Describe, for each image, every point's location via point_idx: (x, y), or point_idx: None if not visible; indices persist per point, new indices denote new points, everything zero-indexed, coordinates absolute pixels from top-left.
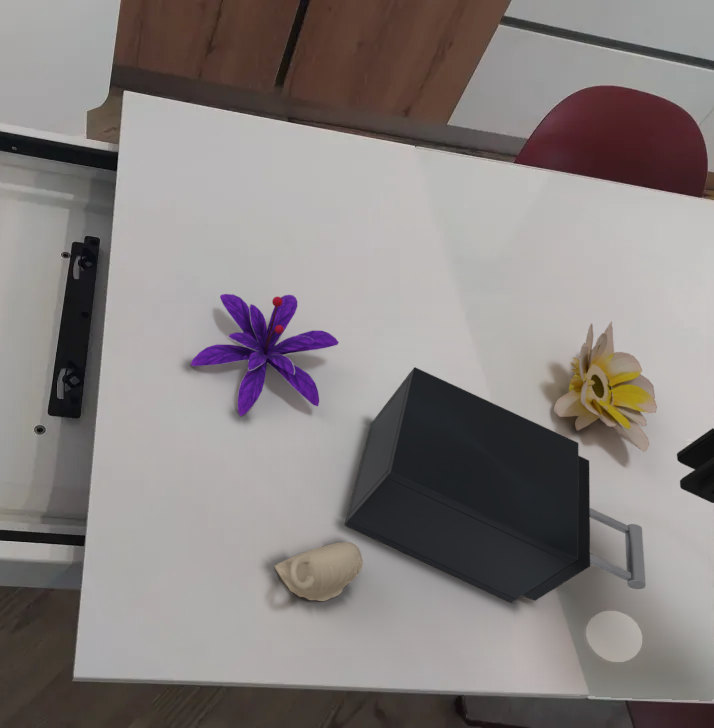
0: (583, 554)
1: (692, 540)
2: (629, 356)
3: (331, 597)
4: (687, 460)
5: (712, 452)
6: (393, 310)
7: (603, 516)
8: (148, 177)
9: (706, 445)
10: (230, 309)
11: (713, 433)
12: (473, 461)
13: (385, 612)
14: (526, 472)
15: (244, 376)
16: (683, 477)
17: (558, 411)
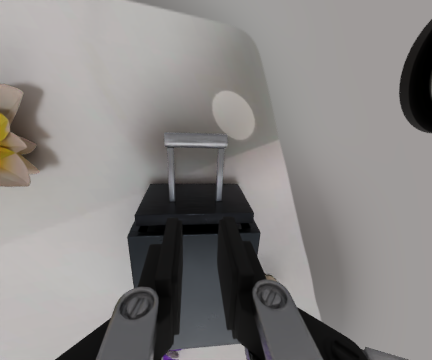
0: (245, 218)
1: (88, 9)
2: None
3: (273, 278)
4: (182, 266)
5: (180, 284)
6: (36, 296)
7: (171, 173)
8: None
9: (180, 307)
10: None
11: (173, 342)
12: (207, 307)
13: (271, 254)
14: (195, 275)
15: (175, 350)
16: (217, 268)
17: (33, 173)
